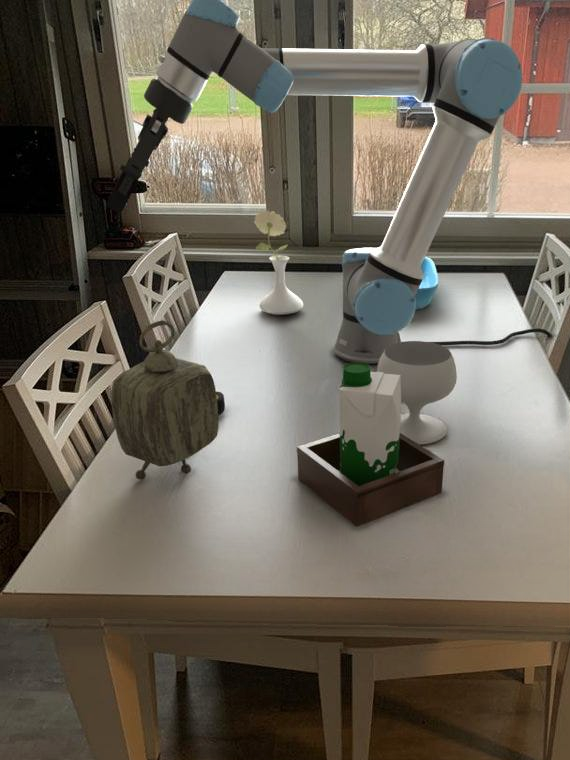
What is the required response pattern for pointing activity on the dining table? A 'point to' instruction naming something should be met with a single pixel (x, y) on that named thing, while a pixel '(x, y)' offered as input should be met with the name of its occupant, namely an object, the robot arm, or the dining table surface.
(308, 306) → the dining table surface
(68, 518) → the dining table surface
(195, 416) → the tabletop clock
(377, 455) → the soya milk
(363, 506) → the crate
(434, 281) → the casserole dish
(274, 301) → the flower in vase
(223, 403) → the tape measure
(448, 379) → the chalice
